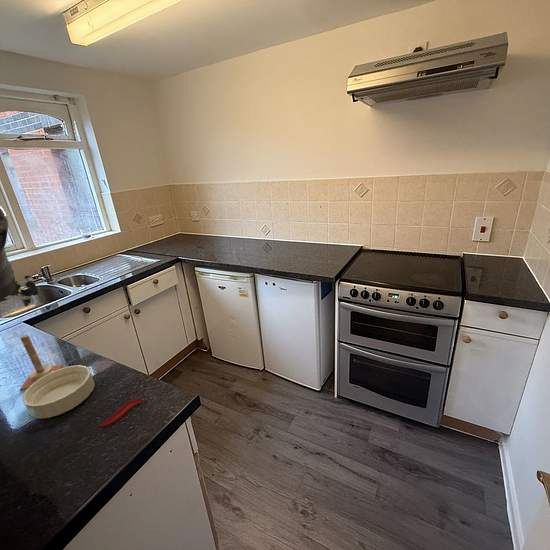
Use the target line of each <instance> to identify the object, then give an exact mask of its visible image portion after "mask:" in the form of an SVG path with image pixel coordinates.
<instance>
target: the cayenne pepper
mask: <svg viewBox="0 0 550 550" xmlns="http://www.w3.org/2000/svg"><path fill="white" fill-rule="evenodd" d="M146 402H147V400H146V399H143V398H142V399H139V398H137V399H131V400H129V401H127V402H125V403H123V405H122V406H120V407H119V409H118V410H116V411H114V413H113V414H111V415H110V416H109V417H108V418H106V419H105V420H104V421H103V422H102V423H99V425H98V427H99V428H102V427H108V426H110V425H112V424H114V423H116V422H117V421H119V420H120V419H122V418H123V417H124V416H125V415H126V414H127V413H128V412H129V411H130V410H132V409H133V408H134V407H135V406H136V407H137V405H140V404H143V403H146Z"/></svg>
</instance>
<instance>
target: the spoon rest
mask: <svg viewBox="0 0 550 550" xmlns="http://www.w3.org/2000/svg"><path fill="white" fill-rule="evenodd" d="M51 366H52V365H51ZM63 366H64V365H63V363H61V364H57V365H53V366H52V368H53V371H56V370H59V369H61V368H63ZM33 383H34V382H32V381H31V379H30V377H29V375H28V376H27V378H26V379H25V380H24V382H23V384H22V385H21V386H20V388H19V391H26V390H27V389H28V388H29V387H30V386H31V385H32V384H33Z"/></svg>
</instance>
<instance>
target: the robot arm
mask: <svg viewBox="0 0 550 550" xmlns="http://www.w3.org/2000/svg"><path fill="white" fill-rule="evenodd" d="M8 232H9V220H8V216H7V214H6V212H5V211H4V209H3V208H2V206H0V302H5V301H8V300H16V301H19V300H21V301H22V303H23V306H24V307H28V306H29V305H30V304H31V302H32V300H31V296H37V295H39V291H38V288H37V285H36V283H35V281H34V280H33V277H32V276H31V275H29V274H28V275H25V276H24V278H23V279H22V280H16V276H15V273H14V272H15V270H14V268H13V267H12V264H11V262H10V261H9V259H8V256H7V253H6V250H5V249H6V245H7V239H8ZM22 287H24V288H22Z"/></svg>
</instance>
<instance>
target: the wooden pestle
mask: <svg viewBox="0 0 550 550" xmlns="http://www.w3.org/2000/svg"><path fill="white" fill-rule="evenodd" d="M19 339H20V341H21V343H22V345H23V347H24V349H25V351H26V353H27V355H28V358H29V360H30V362H31V364H32V366H33V369H32V370H31V371H30V372H29V374H28V376H29V377H30V379H31V381H32V382H36V381H37V380H39V379H40V378H42V377H43V376H45V375H47V374H49V373H51V372H53V368H52V365H51V364H43V363H42V361H41V360H40V357H39V355H38V353H37V351H36V348H35V346H34V344H33V341H32V340H31V338H30V335H29V334H23V335H22V336H20V338H19Z"/></svg>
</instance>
